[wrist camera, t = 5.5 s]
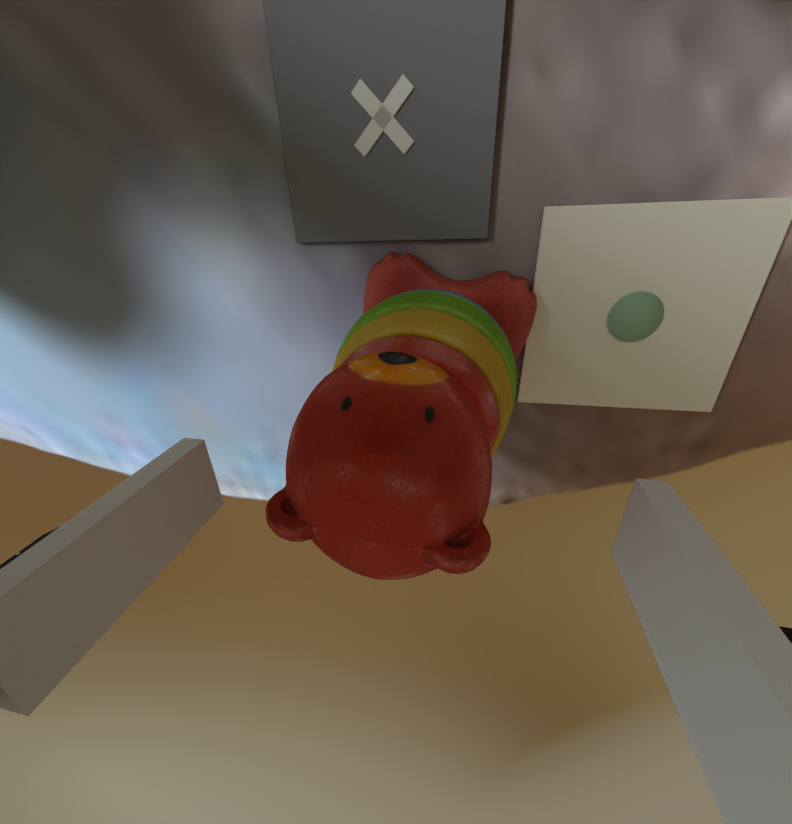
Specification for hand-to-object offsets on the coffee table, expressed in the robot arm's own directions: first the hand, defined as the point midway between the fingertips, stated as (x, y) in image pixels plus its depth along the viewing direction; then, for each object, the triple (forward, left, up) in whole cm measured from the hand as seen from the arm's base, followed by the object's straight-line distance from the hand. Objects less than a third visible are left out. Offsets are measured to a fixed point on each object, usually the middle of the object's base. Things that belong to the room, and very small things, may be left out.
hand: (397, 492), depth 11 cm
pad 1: (-3, +13, -16) cm, 20 cm away
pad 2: (+12, +2, -16) cm, 20 cm away
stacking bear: (0, 0, -16) cm, 16 cm away
